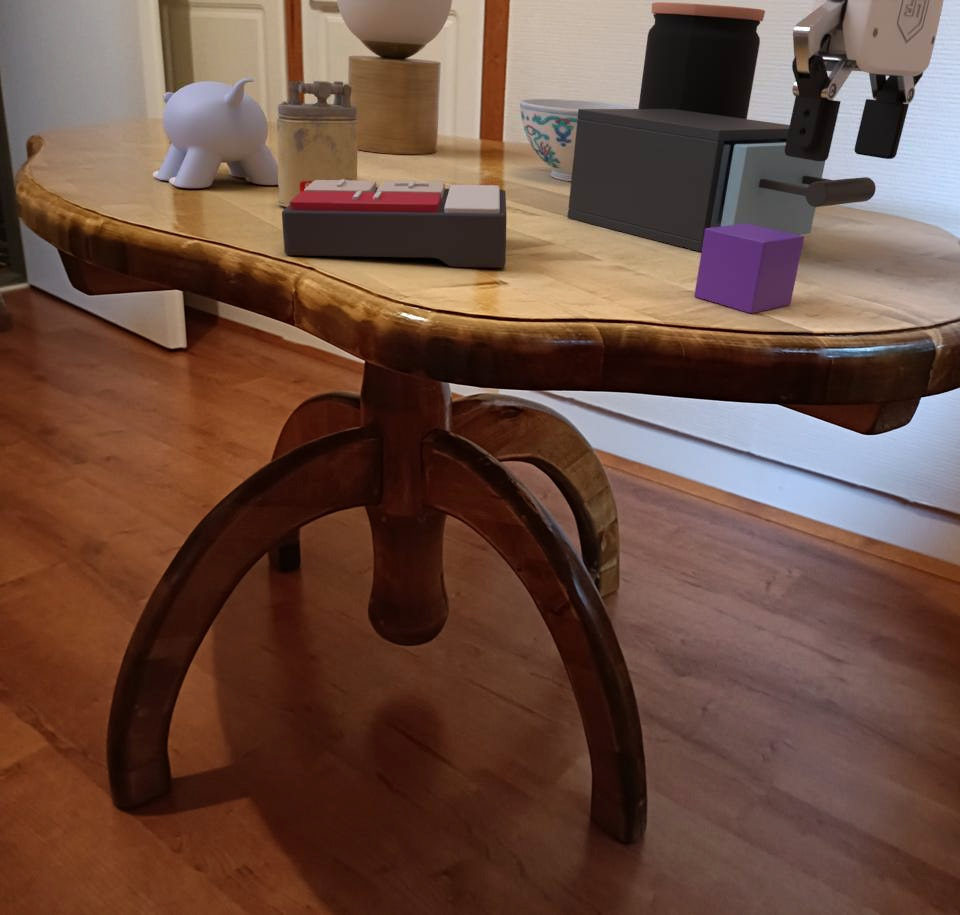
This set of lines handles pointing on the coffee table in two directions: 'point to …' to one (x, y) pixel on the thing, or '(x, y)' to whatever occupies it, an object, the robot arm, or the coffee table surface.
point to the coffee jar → (701, 58)
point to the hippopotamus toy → (215, 136)
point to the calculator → (399, 221)
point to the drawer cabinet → (654, 169)
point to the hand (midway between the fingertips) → (841, 157)
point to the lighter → (315, 138)
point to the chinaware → (557, 129)
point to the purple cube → (748, 267)
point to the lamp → (395, 73)
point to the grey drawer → (777, 187)
